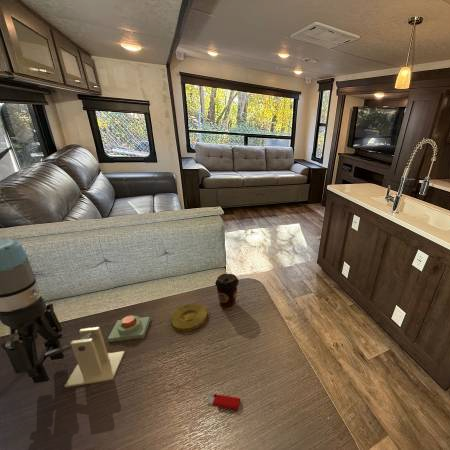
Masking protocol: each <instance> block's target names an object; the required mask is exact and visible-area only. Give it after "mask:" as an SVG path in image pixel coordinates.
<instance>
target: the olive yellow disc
mask: <svg viewBox="0 0 450 450" xmlns="http://www.w3.org/2000/svg"><path fill="white" fill-rule="evenodd" d="M207 317H208V313H207V308H206V307H204V306H203V305H201V304H193V303H192V304H191V303H190V304H186V305H183V306H181V307H179V308H178V309H176V310H174V312H173V313H172V315H171V317H170V324H171V327H172V328H173V329H174V330H175V331H177V332H183V333H184V332H191V331H195V330H197V329H198V328H201V326H203V325H204V324H205V323H206V321H207Z"/></svg>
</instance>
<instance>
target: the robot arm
mask: <svg viewBox="0 0 450 450" xmlns="http://www.w3.org/2000/svg"><path fill="white" fill-rule="evenodd" d="M0 322H1V323H2V325H4V326H6V327H8V328H9V330H10V331H9V334H10V337H9V339H8V340H7V341H3V342H1V344H0V347H1V348H2V350H4V351H5V352H6V354H7V357H8V360H9V362H10V364H11V366H12V368H13V371H14V373H15V374H16V375H18V374H25V373H27V376H28V377H29V378H31V380H32V382H33V383H34V384H38V383H45V382H48V381H49V380H50V377H49V375H48V373H47V371H46V368H45V366H44V363H43V364H42V362H38V352H37V342H36V340H37V339H38V334H39V336H41V338H43V339H44V340H45V342H44V343H43V344H44V347H45V349H46V348H47V346H48V345H50V344H53V345H55V348H54V349H56V348H59V347H61V342H60V339H62V338H63V334H62V333H61V332H63V327H62V325H61V323H60V321H59V319H58V317H57V315H56V313H55V311H54V303H46V301H45V299H44V296H43V295H42V291H41V290H40V288H39V285H38V283H37V280H36V277H35V274H34V271H33V268H32V266H31V263H30V261H29V258H28V254H27V252H26V250H24V248H23V245H22V243H21V242H20V241H19V240H16V239H14V238H0ZM59 333H60V334H59ZM54 349H53V350H54ZM49 358H50V360H51V361H55V360H62V359H64V358H65V354H64V351H63V352H61V353H58V354H55V355H53V356H50V357H49Z"/></svg>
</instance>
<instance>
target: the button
mask: <svg viewBox="0 0 450 450" xmlns="http://www.w3.org/2000/svg"><path fill="white" fill-rule="evenodd" d="M134 316H135V315H131V314H129V315H126V316H125V317H123V318H122V319H121V320H122V325H123V327H124V328H129V327H131V326H133V325H134V324H135V317H134Z"/></svg>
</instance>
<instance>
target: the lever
mask: <svg viewBox="0 0 450 450" xmlns="http://www.w3.org/2000/svg"><path fill="white" fill-rule="evenodd" d="M96 338H97V337H96V336H95V335H94V334H93V333H92V332H90V333H87V334H85V335H82V336H80V337H79V339H78V340H83V339H93V342H95V340H96ZM54 348H55V345H53V344H50V345H48V346H47V348H46V347H45V349H44V350H43V352H42V353H41V354H40V355H39V357H37V359H38V362H42V364H43V365H44V363H45V361H46V360H47V358H50V356H53V355H55V354H58V353H61V352H63V353H64V352H67V351H69V350H71V349H72V347H71V342H70V343H68V344H65V345H62V346H60V347H59V348H56V349H54ZM53 349H54V350H53Z"/></svg>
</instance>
